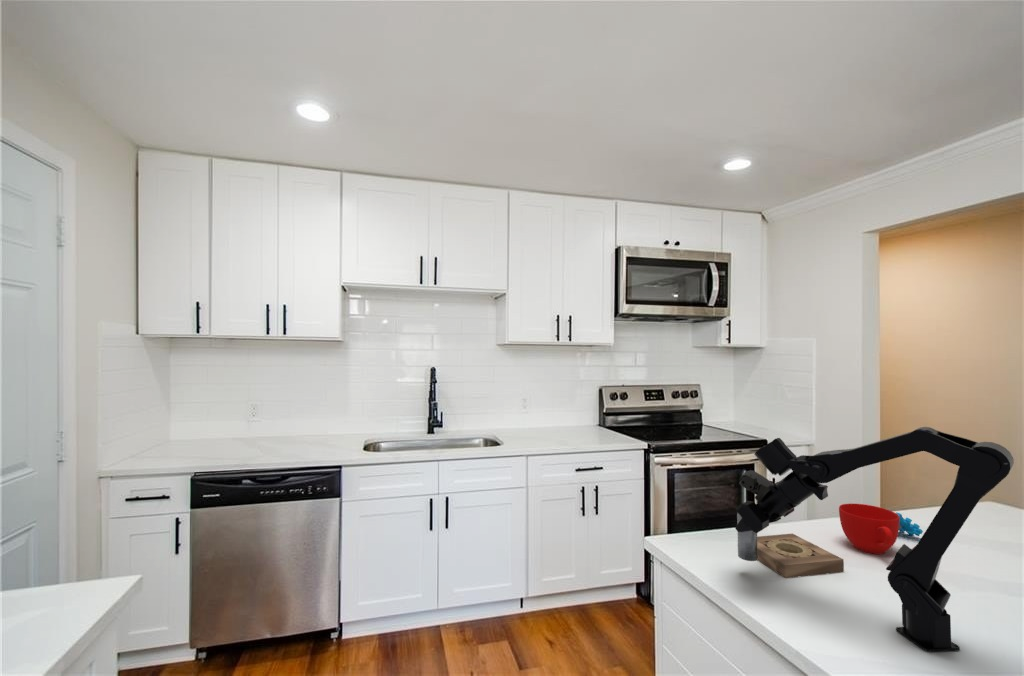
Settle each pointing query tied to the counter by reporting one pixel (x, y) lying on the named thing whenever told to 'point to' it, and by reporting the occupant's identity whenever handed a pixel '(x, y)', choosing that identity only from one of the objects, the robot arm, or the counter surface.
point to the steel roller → (747, 544)
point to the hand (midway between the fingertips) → (741, 527)
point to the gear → (908, 526)
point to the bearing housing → (796, 556)
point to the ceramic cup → (869, 527)
